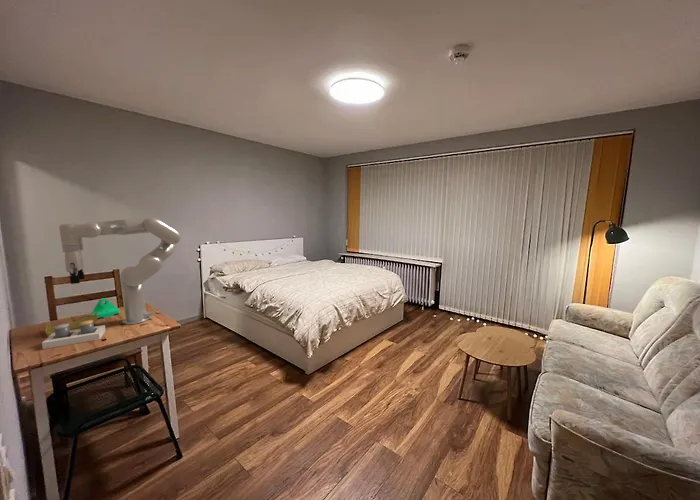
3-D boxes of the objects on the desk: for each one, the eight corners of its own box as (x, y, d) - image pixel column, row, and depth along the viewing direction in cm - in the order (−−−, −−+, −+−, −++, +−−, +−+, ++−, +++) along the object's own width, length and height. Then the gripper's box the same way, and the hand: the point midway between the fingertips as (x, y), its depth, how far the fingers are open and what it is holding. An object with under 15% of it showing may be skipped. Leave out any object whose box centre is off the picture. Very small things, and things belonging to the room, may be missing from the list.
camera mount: (95, 320, 166) (93, 303, 164) (91, 317, 170) (89, 301, 169) (121, 314, 176) (119, 298, 174) (116, 311, 180) (114, 295, 178)
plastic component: (44, 334, 141) (46, 321, 147) (49, 344, 145) (51, 330, 151) (97, 322, 153) (97, 310, 159) (100, 331, 156) (100, 319, 163)
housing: (105, 331, 150) (104, 325, 150) (99, 340, 140) (98, 333, 139) (53, 339, 140) (52, 333, 140) (42, 350, 130) (41, 343, 130)
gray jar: (83, 336, 143) (81, 321, 142) (96, 333, 146) (94, 319, 145) (80, 340, 139) (77, 324, 138) (93, 337, 141) (91, 322, 140)
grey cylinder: (72, 338, 141) (70, 322, 140) (69, 342, 137) (66, 326, 136) (58, 340, 139) (56, 324, 138) (54, 344, 135) (52, 328, 133)
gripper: (67, 247, 148) (72, 278, 151) (57, 251, 134) (62, 286, 136) (86, 245, 152) (91, 277, 155) (78, 249, 138) (83, 284, 140)
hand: (77, 281), depth 146 cm, fingers open, 9 cm apart
